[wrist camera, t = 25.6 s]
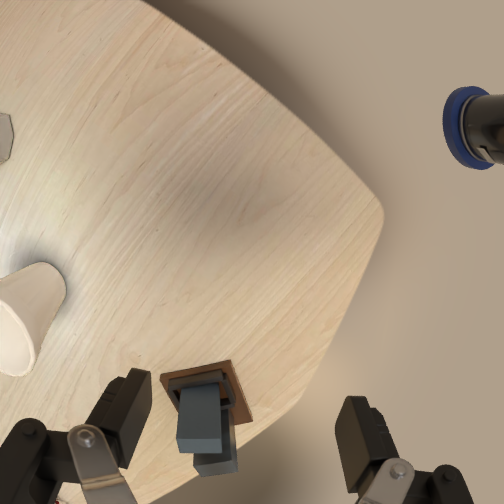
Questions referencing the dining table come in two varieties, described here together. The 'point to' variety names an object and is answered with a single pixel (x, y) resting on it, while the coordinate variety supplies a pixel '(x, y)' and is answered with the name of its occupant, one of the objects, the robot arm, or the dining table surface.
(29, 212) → the dining table surface
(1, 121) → the flask
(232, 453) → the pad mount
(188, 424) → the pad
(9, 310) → the cup
